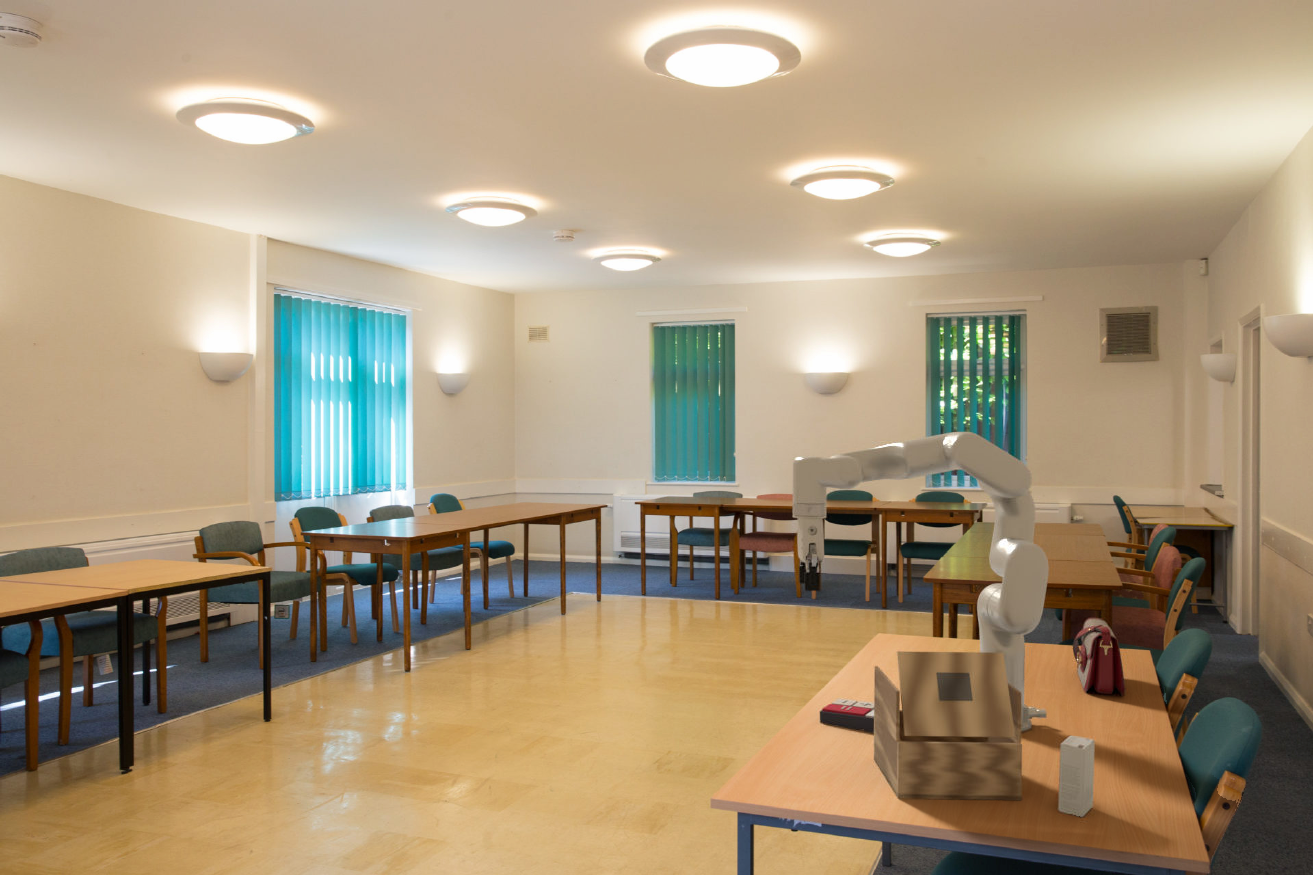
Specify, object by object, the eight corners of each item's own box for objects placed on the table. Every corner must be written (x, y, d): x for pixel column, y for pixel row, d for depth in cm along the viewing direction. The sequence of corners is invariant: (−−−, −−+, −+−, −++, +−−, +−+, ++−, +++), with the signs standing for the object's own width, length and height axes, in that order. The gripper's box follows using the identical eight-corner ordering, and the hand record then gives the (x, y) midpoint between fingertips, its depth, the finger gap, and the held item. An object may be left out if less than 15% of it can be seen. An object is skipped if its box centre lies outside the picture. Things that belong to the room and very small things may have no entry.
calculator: (837, 696, 218) (899, 703, 210) (838, 714, 218) (900, 722, 210) (818, 707, 209) (882, 715, 201) (819, 726, 209) (883, 735, 201)
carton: (984, 760, 185) (985, 666, 185) (1022, 800, 165) (1023, 694, 165) (872, 759, 186) (873, 664, 186) (896, 798, 166) (897, 692, 166)
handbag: (1070, 670, 259) (1071, 608, 258) (1112, 673, 255) (1113, 610, 255) (1080, 696, 232) (1080, 627, 232) (1127, 701, 229) (1127, 630, 229)
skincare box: (1067, 801, 165) (1068, 733, 165) (1094, 807, 162) (1095, 739, 162) (1057, 811, 160) (1057, 742, 160) (1084, 818, 157) (1085, 747, 157)
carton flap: (1002, 653, 172) (1003, 652, 171) (1014, 737, 166) (1015, 736, 165) (896, 652, 172) (897, 651, 172) (904, 735, 166) (905, 735, 166)
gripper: (832, 514, 200) (831, 593, 200) (820, 508, 217) (820, 580, 217) (797, 514, 200) (797, 593, 200) (788, 507, 217) (788, 580, 217)
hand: (809, 586), depth 208 cm, fingers open, 9 cm apart
